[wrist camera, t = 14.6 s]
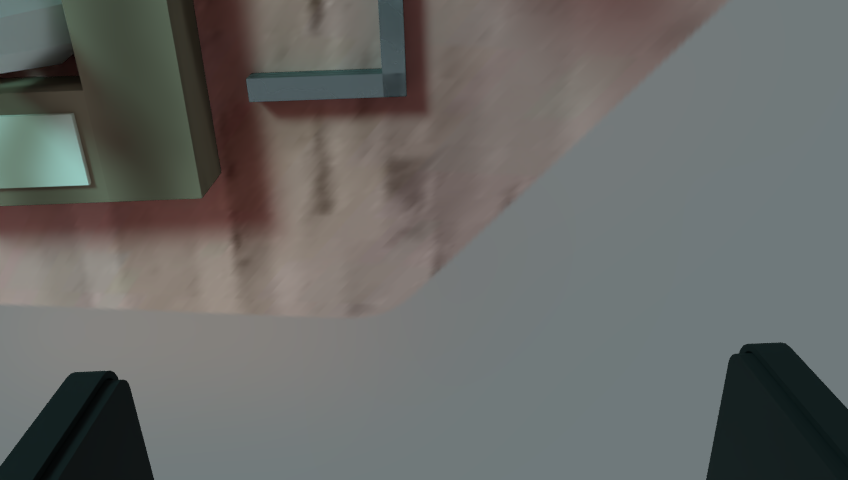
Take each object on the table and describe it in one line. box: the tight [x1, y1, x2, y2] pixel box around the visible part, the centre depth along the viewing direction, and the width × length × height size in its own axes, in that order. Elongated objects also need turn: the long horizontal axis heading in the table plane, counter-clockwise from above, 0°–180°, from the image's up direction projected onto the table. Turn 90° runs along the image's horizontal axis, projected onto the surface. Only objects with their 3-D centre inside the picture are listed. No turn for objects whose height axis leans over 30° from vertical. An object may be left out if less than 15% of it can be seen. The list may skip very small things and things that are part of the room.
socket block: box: [0, 0, 221, 206], centre depth 32 cm, size 16×18×4 cm
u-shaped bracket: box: [246, 0, 407, 102], centre depth 34 cm, size 8×9×2 cm
